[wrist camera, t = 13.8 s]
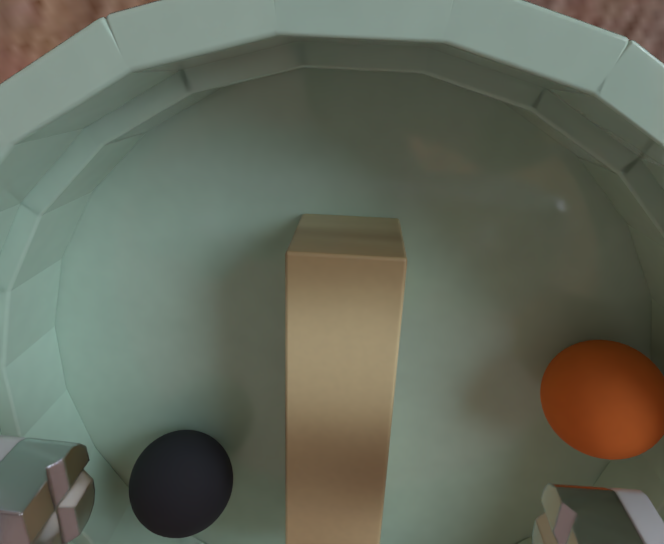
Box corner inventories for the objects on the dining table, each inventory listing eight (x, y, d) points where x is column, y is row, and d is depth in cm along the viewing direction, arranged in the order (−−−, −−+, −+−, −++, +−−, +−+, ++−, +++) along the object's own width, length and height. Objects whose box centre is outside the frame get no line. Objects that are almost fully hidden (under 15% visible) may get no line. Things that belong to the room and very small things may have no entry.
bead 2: (638, 502, 12) (725, 413, 11) (565, 460, 11) (658, 359, 10) (562, 425, 14) (631, 349, 14) (497, 384, 13) (569, 301, 13)
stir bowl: (-41, -10, 12) (-307, -56, 7) (803, 27, 11) (1125, 2, 6) (78, 562, 19) (-16, 725, 14) (593, 611, 18) (670, 801, 13)
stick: (301, 212, 13) (284, 251, 10) (399, 217, 12) (407, 259, 10) (298, 514, 16) (284, 599, 14) (373, 520, 16) (373, 607, 14)
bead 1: (234, 450, 13) (129, 425, 13) (205, 566, 13) (96, 539, 13) (251, 435, 16) (164, 415, 16) (228, 530, 15) (138, 509, 15)
